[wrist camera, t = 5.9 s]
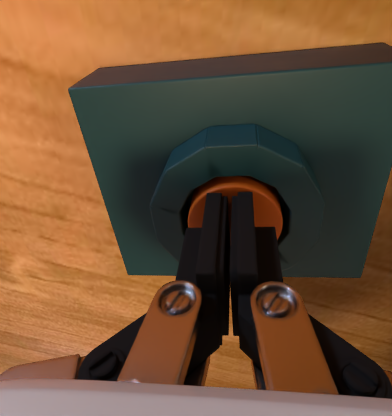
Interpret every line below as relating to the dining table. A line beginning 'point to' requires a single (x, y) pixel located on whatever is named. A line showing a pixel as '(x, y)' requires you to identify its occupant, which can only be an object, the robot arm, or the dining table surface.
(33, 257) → the dining table surface
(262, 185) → the orange round cap
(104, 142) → the teal box orange button
